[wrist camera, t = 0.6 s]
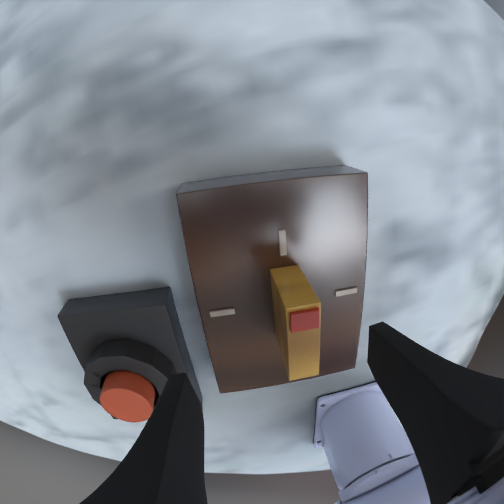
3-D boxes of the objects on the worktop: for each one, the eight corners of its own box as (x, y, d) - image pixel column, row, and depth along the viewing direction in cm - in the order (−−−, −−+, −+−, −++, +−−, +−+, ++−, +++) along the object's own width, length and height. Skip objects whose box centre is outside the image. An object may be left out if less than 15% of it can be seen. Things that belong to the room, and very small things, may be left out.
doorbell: (202, 396, 24) (203, 433, 20) (117, 401, 24) (109, 435, 20) (170, 286, 20) (162, 321, 16) (68, 299, 19) (46, 331, 16)
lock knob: (300, 331, 19) (320, 378, 15) (275, 335, 18) (290, 384, 15) (298, 264, 17) (322, 305, 13) (269, 268, 17) (286, 311, 13)
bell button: (161, 403, 19) (159, 422, 18) (116, 404, 19) (112, 422, 17) (145, 368, 18) (141, 387, 16) (97, 370, 17) (90, 388, 16)
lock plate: (342, 343, 24) (356, 369, 21) (218, 365, 23) (220, 395, 20) (345, 165, 18) (369, 172, 15) (181, 183, 17) (175, 194, 14)
